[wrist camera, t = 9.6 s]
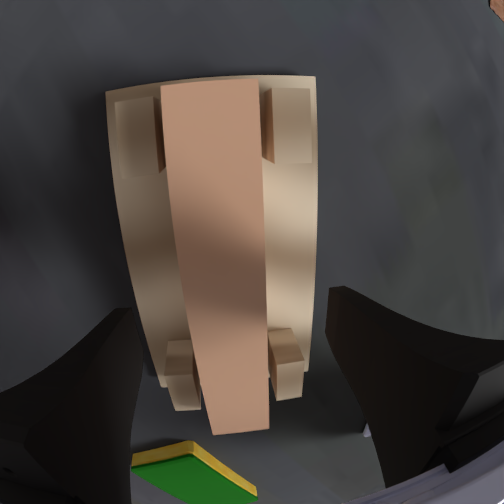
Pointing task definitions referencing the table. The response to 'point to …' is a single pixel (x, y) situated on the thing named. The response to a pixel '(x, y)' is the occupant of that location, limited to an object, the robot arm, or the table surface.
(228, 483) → the dish sponge
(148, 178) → the birch rack
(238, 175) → the clay strip
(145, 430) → the table surface
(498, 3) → the bark
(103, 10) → the table surface
